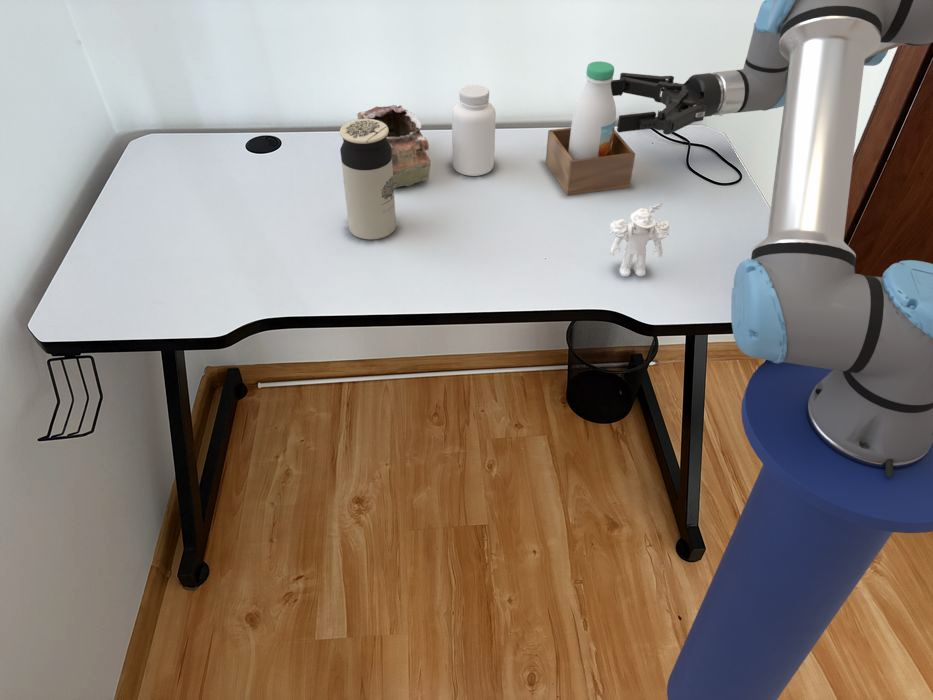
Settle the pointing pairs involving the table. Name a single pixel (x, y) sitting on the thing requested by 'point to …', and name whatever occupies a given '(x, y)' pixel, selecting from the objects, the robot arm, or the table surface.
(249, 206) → the table surface
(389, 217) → the travel mug
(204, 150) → the table surface
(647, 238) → the flower shoulder figurine
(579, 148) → the milk bottle
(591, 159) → the wooden box
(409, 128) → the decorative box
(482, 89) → the pill bottle
